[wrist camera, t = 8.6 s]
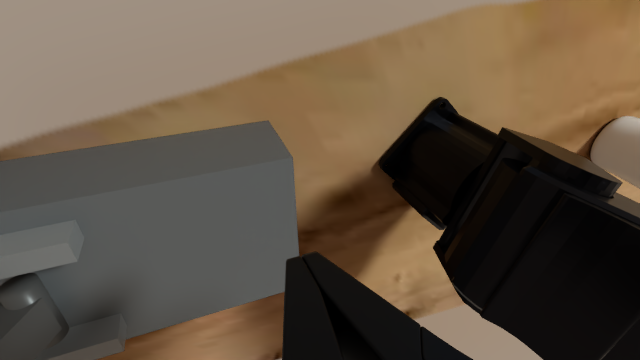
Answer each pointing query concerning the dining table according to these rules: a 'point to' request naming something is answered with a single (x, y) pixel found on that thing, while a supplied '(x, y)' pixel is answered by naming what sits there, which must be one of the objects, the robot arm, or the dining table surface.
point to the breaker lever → (28, 318)
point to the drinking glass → (619, 149)
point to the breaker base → (150, 231)
